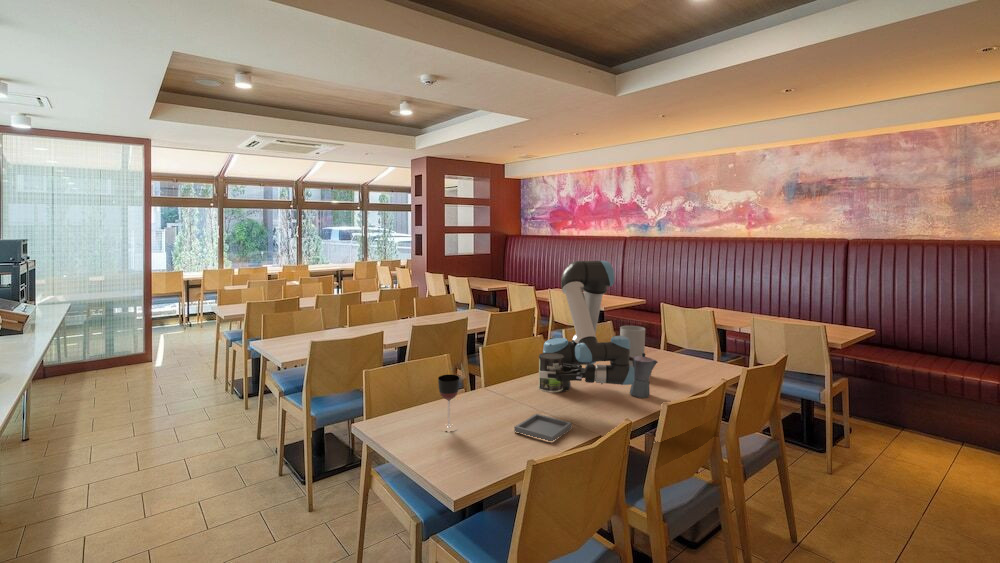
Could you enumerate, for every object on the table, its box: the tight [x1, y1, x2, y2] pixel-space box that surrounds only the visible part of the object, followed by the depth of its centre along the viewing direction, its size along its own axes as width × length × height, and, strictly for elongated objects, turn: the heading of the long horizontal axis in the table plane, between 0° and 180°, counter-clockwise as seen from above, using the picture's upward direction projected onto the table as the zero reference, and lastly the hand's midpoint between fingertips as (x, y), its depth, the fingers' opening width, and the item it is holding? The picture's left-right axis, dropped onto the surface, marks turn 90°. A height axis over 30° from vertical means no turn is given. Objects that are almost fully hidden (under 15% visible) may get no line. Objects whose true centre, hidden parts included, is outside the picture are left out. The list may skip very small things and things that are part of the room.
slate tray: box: [514, 413, 573, 441], centre depth 193 cm, size 16×16×2 cm
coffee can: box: [538, 352, 564, 393], centre depth 210 cm, size 10×10×14 cm
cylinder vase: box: [619, 325, 646, 367], centre depth 264 cm, size 12×12×25 cm
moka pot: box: [629, 352, 659, 399], centre depth 233 cm, size 10×15×20 cm, turn 78°
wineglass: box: [437, 374, 460, 428], centre depth 194 cm, size 8×9×20 cm
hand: (540, 370), depth 211 cm, fingers closed on coffee can, 10 cm apart
